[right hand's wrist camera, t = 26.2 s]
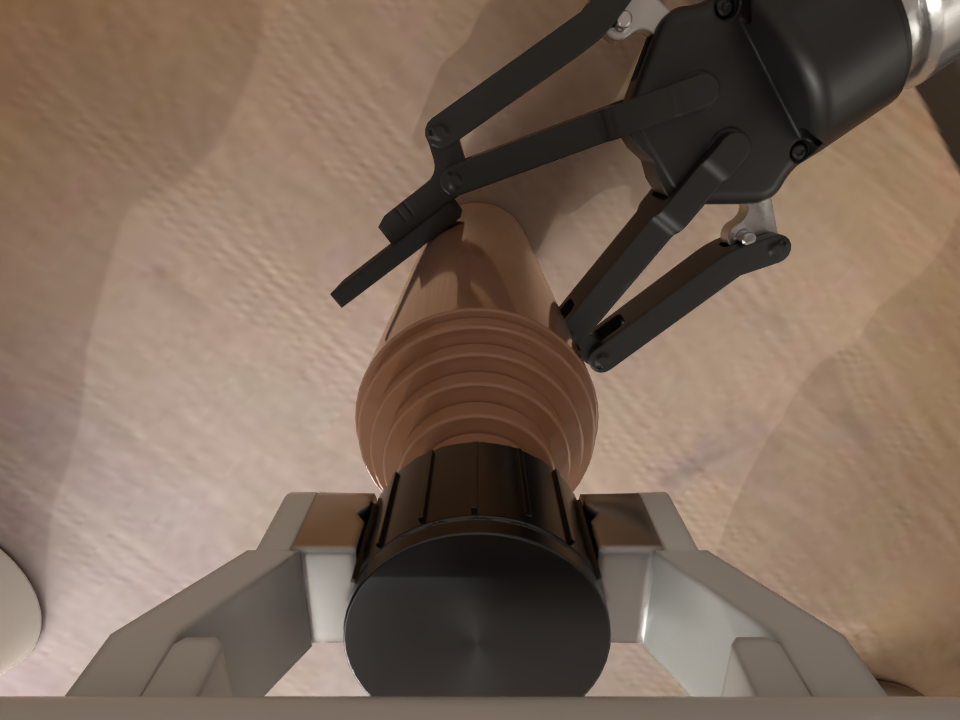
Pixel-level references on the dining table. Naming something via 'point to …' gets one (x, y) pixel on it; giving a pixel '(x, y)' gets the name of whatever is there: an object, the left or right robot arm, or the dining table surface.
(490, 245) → the bottle
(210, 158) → the dining table surface
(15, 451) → the dining table surface
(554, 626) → the cap
